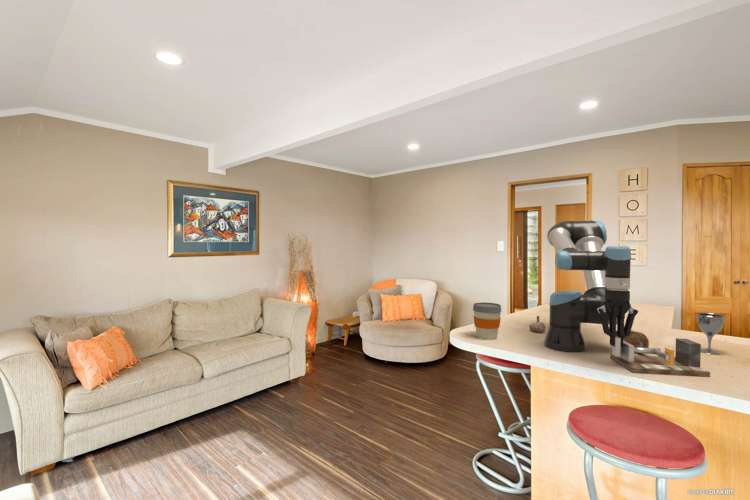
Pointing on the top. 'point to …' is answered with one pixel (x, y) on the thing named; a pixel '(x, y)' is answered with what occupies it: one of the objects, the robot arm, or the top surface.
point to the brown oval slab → (636, 339)
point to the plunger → (629, 351)
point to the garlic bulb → (538, 326)
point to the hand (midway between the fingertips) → (616, 355)
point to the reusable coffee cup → (487, 319)
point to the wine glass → (710, 328)
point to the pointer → (671, 356)
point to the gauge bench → (683, 364)
